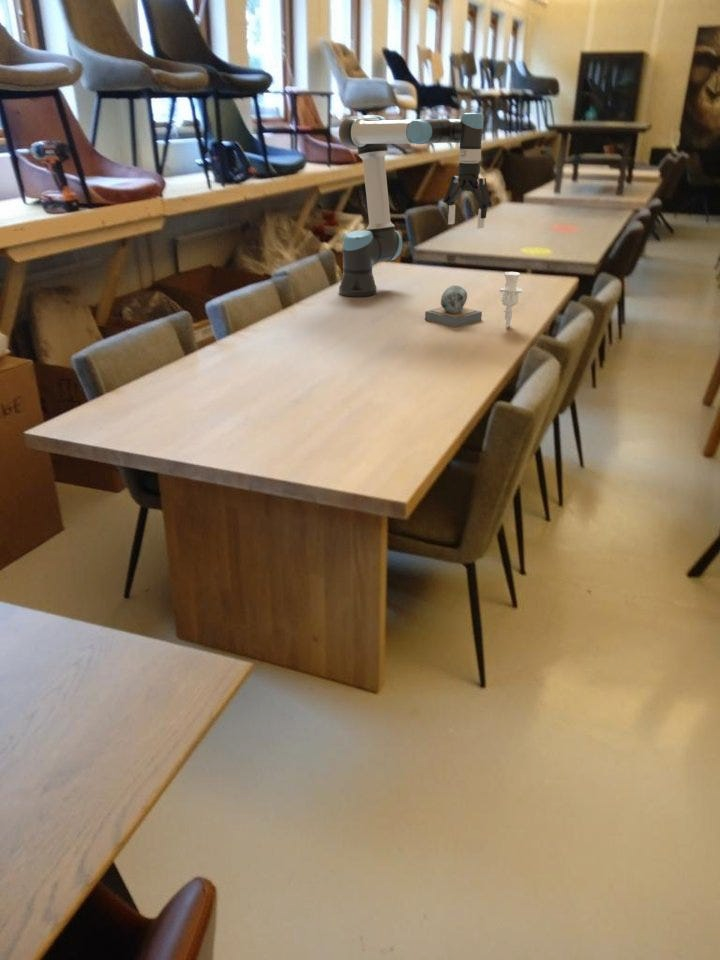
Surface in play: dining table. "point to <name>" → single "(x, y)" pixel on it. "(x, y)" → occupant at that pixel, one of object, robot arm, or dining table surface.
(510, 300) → the figurine
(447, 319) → the stand
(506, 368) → the dining table surface
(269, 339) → the dining table surface
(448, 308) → the grey streaked ellipsoid
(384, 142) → the robot arm
